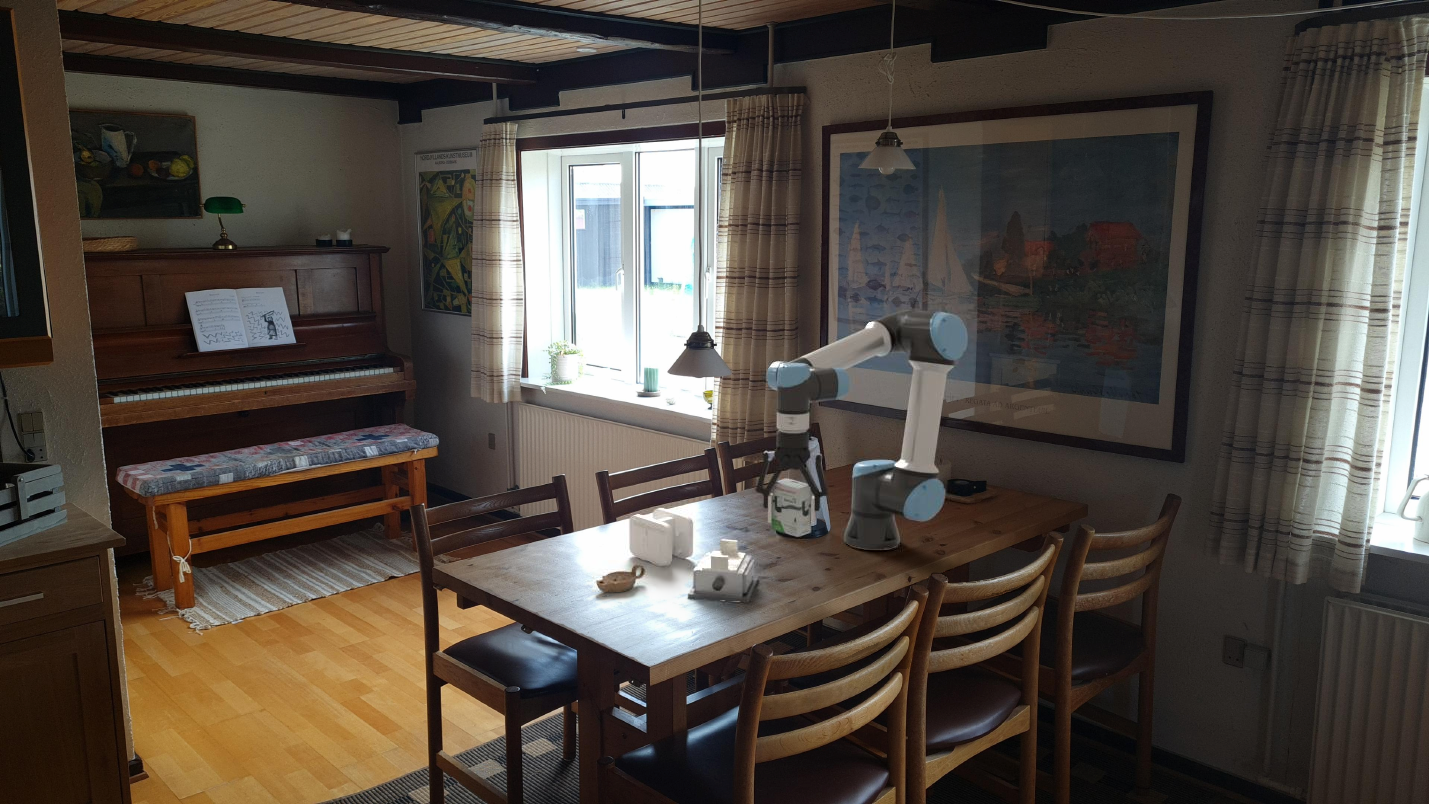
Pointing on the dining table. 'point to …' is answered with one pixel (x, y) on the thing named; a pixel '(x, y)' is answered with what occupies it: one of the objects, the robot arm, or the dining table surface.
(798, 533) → the ink box
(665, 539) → the cable organizer
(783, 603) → the dining table surface
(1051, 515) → the dining table surface
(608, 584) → the oil lamp
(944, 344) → the robot arm
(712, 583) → the white boxy piece
